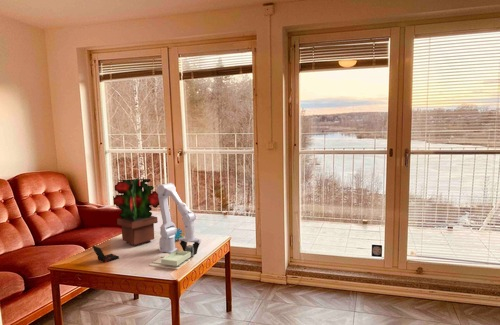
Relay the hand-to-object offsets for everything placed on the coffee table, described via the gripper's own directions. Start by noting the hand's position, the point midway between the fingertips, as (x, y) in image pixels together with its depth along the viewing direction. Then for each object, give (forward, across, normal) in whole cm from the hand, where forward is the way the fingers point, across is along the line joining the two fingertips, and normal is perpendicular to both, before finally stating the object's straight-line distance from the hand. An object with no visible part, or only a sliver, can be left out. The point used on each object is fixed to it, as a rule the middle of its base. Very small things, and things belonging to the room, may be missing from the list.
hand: (190, 253), depth 208 cm
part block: (+2, 0, 0) cm, 2 cm away
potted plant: (+2, -49, +12) cm, 50 cm away
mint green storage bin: (+1, -1, -14) cm, 14 cm away
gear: (+2, -26, +25) cm, 36 cm away
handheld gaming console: (+2, -46, -22) cm, 51 cm away
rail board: (+1, -6, -14) cm, 15 cm away
